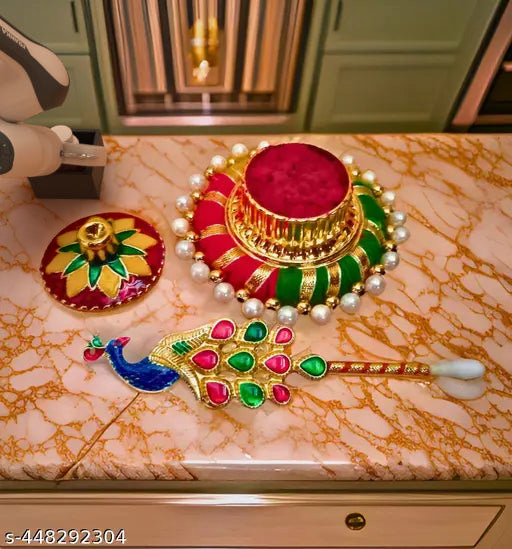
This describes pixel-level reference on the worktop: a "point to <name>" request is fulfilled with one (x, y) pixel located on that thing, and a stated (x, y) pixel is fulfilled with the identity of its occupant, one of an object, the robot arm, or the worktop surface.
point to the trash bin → (72, 175)
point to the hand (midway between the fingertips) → (66, 150)
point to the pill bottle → (67, 136)
